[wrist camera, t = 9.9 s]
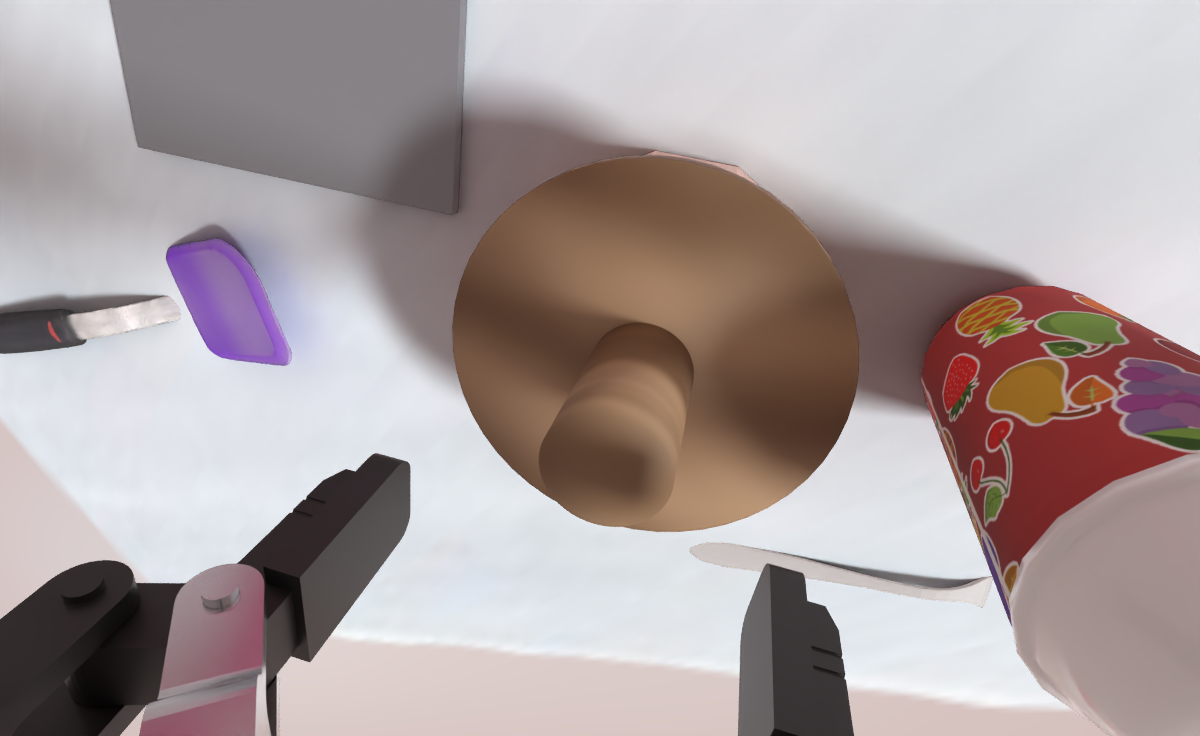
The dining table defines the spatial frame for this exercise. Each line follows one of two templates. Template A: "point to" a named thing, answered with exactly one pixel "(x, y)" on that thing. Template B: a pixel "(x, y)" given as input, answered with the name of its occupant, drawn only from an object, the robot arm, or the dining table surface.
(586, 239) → the lid
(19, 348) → the spatula
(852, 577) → the fork
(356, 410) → the dining table surface
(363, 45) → the mat
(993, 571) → the smoothie
